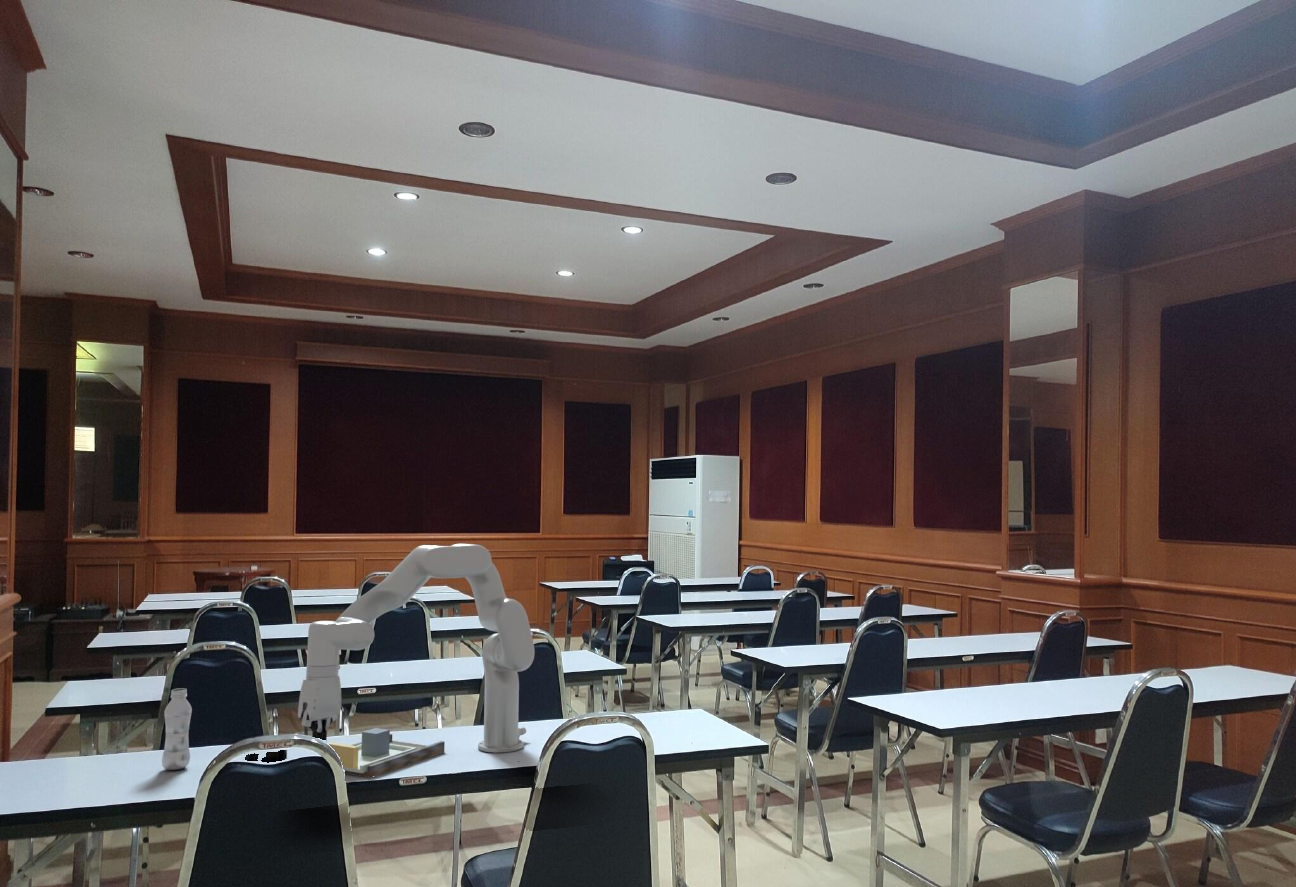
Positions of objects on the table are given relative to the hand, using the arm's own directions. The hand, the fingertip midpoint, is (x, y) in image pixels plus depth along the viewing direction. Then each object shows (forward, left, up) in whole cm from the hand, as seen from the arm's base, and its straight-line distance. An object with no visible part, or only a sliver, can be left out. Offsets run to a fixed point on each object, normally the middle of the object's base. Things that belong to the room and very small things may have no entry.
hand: (318, 747), depth 224 cm
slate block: (-19, 0, -6) cm, 20 cm away
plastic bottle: (+10, -40, -8) cm, 42 cm away
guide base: (-21, 0, -8) cm, 23 cm away
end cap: (0, -19, -8) cm, 21 cm away
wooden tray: (-16, 0, -7) cm, 18 cm away
